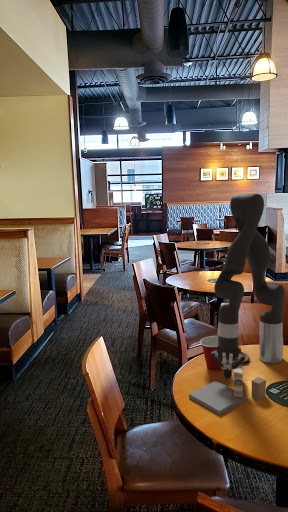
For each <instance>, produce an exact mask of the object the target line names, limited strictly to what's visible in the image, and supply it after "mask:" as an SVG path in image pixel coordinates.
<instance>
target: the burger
mask: <svg viewBox="0 0 288 512" xmlns="http://www.w3.org/2000/svg"><path fill="white" fill-rule="evenodd" d="M239 349H240V353H241V354H243V355H245V360H244V361H243V362H242V363H245V362H246V363H247V364H249V362H250V356H249V355H248V353H245V352H243V351H242V348H241V346H239ZM238 357H239V355H238V356H237V357H236V359H235V360H233V362H232V364H234V363H235V362H236V361H237V360H238ZM227 362H229V361H228V360H227Z"/></svg>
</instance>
